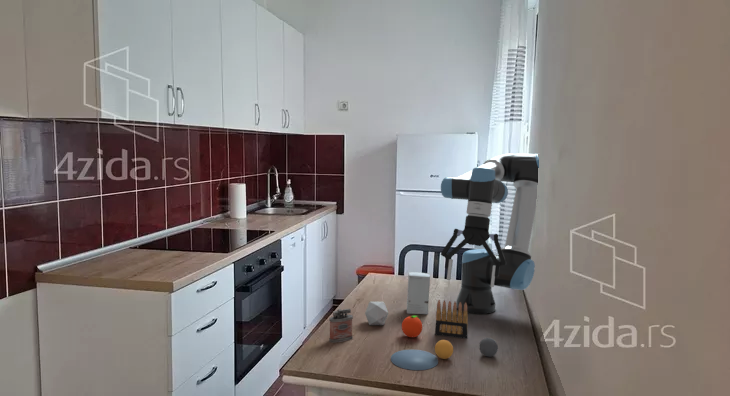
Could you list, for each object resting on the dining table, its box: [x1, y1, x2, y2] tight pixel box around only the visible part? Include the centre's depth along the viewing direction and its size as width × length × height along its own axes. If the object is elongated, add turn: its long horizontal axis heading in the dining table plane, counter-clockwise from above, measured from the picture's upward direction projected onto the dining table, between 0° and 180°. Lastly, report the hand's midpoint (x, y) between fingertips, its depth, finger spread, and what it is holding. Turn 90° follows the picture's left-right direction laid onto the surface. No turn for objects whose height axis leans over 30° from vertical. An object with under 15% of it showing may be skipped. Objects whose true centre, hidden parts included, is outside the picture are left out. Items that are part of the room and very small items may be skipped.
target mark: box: [390, 348, 439, 371], centre depth 147 cm, size 14×14×1 cm
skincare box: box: [406, 271, 431, 315], centre depth 189 cm, size 8×6×15 cm
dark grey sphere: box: [478, 337, 499, 358], centre depth 150 cm, size 6×6×6 cm
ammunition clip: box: [434, 299, 469, 339], centre depth 166 cm, size 11×2×12 cm, turn 74°
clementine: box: [401, 315, 423, 338], centre depth 165 cm, size 8×7×7 cm
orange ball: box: [434, 339, 454, 360], centre depth 148 cm, size 6×6×6 cm
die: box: [364, 301, 389, 326], centre depth 176 cm, size 8×9×10 cm
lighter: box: [328, 308, 354, 343], centre depth 161 cm, size 8×3×10 cm, turn 117°
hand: (470, 283), depth 156 cm, fingers open, 13 cm apart
